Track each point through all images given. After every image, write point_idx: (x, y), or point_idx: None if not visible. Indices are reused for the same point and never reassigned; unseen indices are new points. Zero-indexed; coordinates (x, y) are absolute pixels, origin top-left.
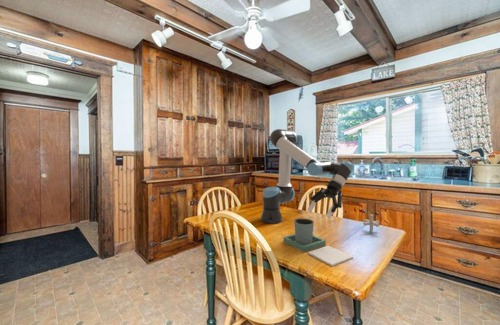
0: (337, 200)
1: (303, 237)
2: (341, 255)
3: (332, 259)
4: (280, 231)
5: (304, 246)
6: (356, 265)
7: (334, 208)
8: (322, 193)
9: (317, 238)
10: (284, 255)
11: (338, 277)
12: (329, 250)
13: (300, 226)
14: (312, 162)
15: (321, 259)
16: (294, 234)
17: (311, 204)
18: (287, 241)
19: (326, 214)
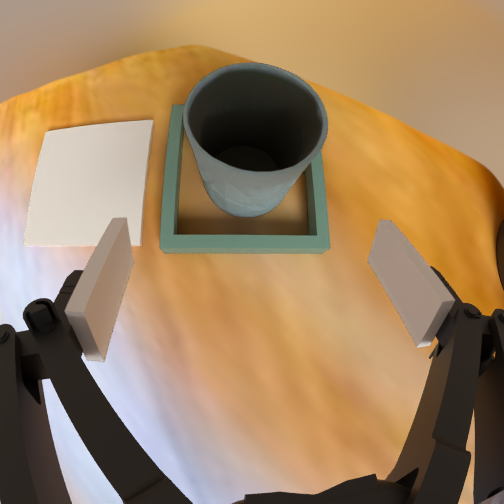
0: (17, 398)
1: (216, 128)
2: (51, 211)
3: (58, 156)
4: (419, 196)
5: (174, 111)
6: (3, 208)
7: (56, 299)
8: (452, 453)
9: (209, 235)
10: (200, 58)
11: (19, 113)
12: (103, 204)
13: (226, 77)
14: None
15: (86, 126)
16: (320, 171)
17: (413, 262)
18: None
19: (124, 220)
